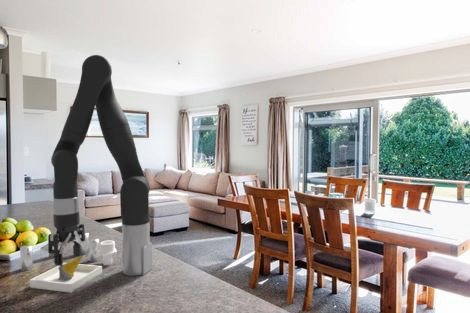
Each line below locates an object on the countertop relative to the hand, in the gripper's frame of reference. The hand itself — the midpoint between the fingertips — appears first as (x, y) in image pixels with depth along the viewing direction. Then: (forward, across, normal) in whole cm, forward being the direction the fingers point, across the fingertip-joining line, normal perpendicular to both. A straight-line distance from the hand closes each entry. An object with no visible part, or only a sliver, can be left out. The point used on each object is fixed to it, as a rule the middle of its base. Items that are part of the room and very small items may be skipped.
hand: (68, 260), depth 108 cm
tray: (+7, 0, +1) cm, 7 cm away
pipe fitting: (+7, +16, -4) cm, 18 cm away
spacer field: (+7, +15, +12) cm, 20 cm away
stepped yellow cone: (+6, +1, +1) cm, 6 cm away
